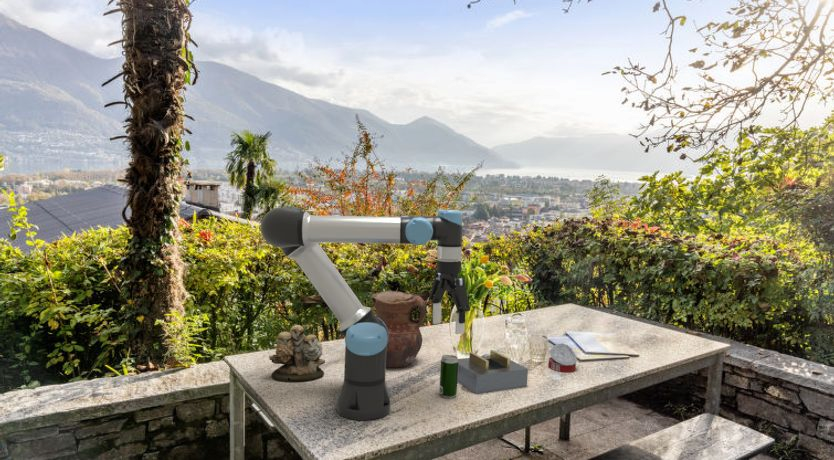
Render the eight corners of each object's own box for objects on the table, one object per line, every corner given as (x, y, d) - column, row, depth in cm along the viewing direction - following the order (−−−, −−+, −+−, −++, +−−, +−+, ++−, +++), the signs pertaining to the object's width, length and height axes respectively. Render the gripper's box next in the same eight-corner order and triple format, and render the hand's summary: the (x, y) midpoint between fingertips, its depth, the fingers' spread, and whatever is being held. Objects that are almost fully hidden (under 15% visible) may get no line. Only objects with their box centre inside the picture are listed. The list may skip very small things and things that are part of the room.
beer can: (446, 400, 150) (448, 361, 149) (435, 393, 154) (437, 356, 154) (460, 396, 153) (462, 358, 152) (449, 390, 157) (451, 353, 156)
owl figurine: (268, 384, 155) (270, 331, 155) (267, 372, 167) (269, 322, 166) (326, 380, 161) (328, 328, 160) (321, 368, 172) (323, 320, 171)
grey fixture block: (475, 394, 156) (477, 365, 155) (448, 375, 171) (449, 349, 171) (534, 385, 166) (535, 359, 165) (503, 368, 181) (504, 344, 181)
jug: (369, 373, 170) (372, 301, 168) (356, 354, 190) (359, 290, 188) (429, 369, 177) (433, 300, 175) (411, 351, 197) (414, 289, 195)
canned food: (571, 379, 187) (586, 358, 185) (563, 383, 179) (579, 362, 177) (547, 359, 193) (561, 339, 191) (538, 362, 185) (553, 341, 183)
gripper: (483, 264, 143) (481, 336, 144) (439, 255, 165) (438, 318, 166) (461, 265, 139) (459, 339, 141) (419, 256, 161) (418, 320, 163)
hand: (447, 328), depth 153 cm, fingers open, 13 cm apart
